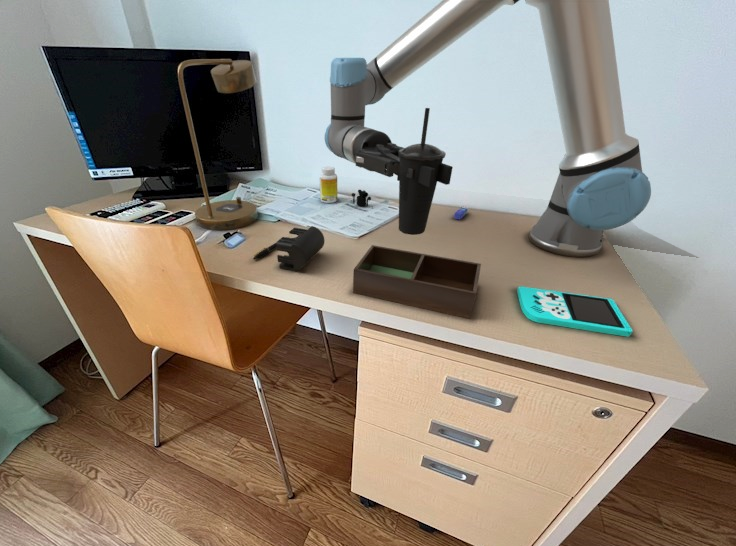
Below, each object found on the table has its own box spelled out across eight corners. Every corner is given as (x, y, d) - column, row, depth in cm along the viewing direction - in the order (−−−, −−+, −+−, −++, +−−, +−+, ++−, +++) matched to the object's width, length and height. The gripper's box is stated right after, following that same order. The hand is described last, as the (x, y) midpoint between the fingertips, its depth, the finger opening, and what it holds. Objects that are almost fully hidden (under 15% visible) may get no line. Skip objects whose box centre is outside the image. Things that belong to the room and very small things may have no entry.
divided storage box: (370, 266, 76) (372, 244, 73) (475, 287, 69) (481, 263, 66) (352, 292, 67) (353, 269, 64) (469, 318, 60) (476, 293, 57)
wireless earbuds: (350, 204, 109) (350, 188, 106) (355, 202, 110) (355, 186, 107) (369, 209, 105) (370, 192, 102) (373, 206, 107) (374, 190, 104)
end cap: (306, 275, 73) (305, 246, 69) (277, 269, 75) (274, 240, 71) (325, 254, 81) (324, 227, 77) (298, 249, 83) (296, 223, 79)
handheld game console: (516, 290, 67) (518, 284, 67) (610, 303, 64) (613, 297, 63) (523, 320, 60) (526, 314, 59) (631, 337, 56) (635, 331, 55)
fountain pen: (289, 238, 88) (288, 232, 88) (292, 238, 88) (292, 233, 87) (251, 261, 78) (250, 255, 77) (255, 262, 78) (254, 256, 77)
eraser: (467, 214, 101) (468, 207, 100) (460, 220, 97) (461, 213, 96) (460, 212, 102) (461, 206, 101) (453, 218, 98) (454, 212, 97)
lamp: (285, 202, 111) (272, 58, 89) (233, 234, 91) (200, 57, 69) (241, 196, 117) (219, 59, 95) (183, 224, 96) (138, 58, 75)
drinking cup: (433, 239, 61) (455, 111, 49) (389, 236, 62) (401, 110, 51) (432, 223, 67) (451, 106, 55) (392, 220, 68) (403, 105, 57)
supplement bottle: (339, 202, 111) (339, 169, 105) (323, 204, 109) (322, 171, 103) (334, 197, 115) (333, 165, 109) (318, 199, 113) (317, 166, 108)
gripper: (398, 163, 76) (473, 194, 59) (333, 171, 71) (396, 207, 53) (401, 126, 72) (484, 146, 55) (333, 131, 67) (401, 156, 49)
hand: (440, 176), depth 54 cm, fingers closed on drinking cup, 3 cm apart
